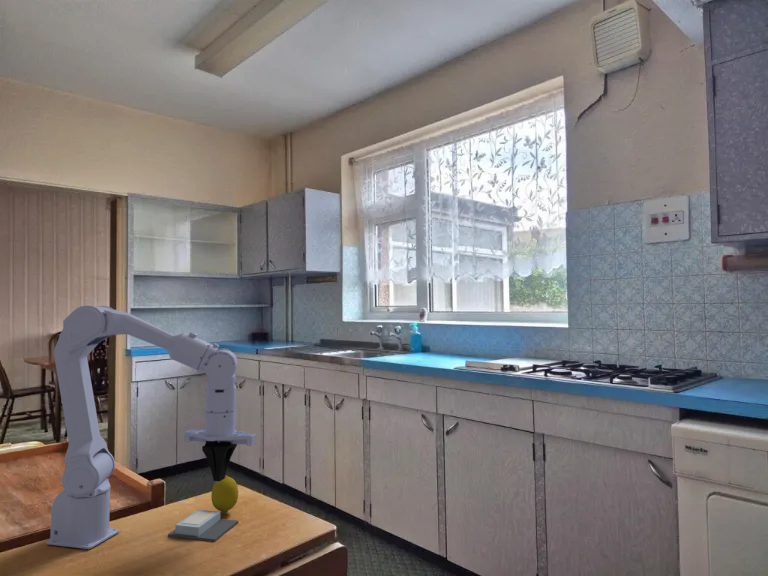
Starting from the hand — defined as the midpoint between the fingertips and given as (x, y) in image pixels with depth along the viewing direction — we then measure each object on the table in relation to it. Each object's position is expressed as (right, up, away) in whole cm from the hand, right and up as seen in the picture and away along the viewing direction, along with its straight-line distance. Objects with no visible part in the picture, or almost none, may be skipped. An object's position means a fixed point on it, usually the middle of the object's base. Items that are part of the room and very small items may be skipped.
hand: (219, 479), depth 103 cm
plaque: (-2, -9, 0) cm, 9 cm away
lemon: (-1, -11, +8) cm, 13 cm away
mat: (-3, -10, 0) cm, 10 cm away
